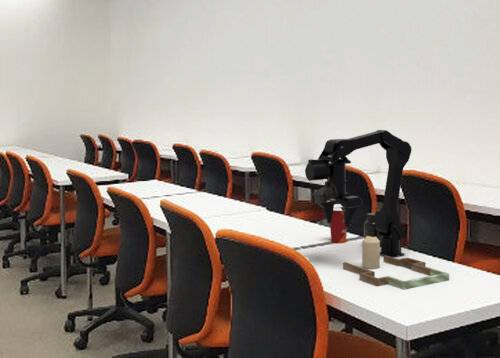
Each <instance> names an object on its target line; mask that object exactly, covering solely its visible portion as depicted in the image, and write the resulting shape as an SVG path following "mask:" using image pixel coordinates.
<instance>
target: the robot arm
mask: <svg viewBox="0 0 500 358" xmlns="http://www.w3.org/2000/svg"><path fill="white" fill-rule="evenodd" d="M377 144H379V145H380V147H381V149H383V150H385V159H386V161H387V164H388V168H387V175H386V182H385V188H384V195H383V201H382V207H381V208H380V209H379V210H376V211H375V212H374V213H375V219H374V223H375V228H376V229H377V230H378V234H379V236H383V237H382V242H381V247H380V255H381V256H385V255H386V256H390V257H393V258H396V257H400V256H401V257H402V256H405V253H404V252H402V240H404V239H405V238H406V235H407V232H406V231H405V229H403V228H402V226H401V225H400V223H401V222H400V221H401V218H400V217H401V216H400V213H399V211H398V205H399V197H400V192H401V186H402V181H403V180H402V178H403V172H404V167H405V166H406V164H407V163H408V162H409V161H410V157H411V154H412V146H411V143H410V142H408V141H406V140H405V141H404V140H402V139H401V138H399V137H398V136H396V135H394V134H392V133H391V132H390V131H389V130H385V129H377V130H376V131H371V132H368V133H365V134H361V135H357V136H353V137H350V138H333V139H329V140H328V139H327V141H325V144H324V147H323V150H322V152H321V153H320V154H319V156H318V159H308V160H307V162H308V163H307V164H306V165H305V170H304V173H305V177H306V179H307V181H309V182H311V181H312V182H313V181H320V180H322V181H323V180H325V182H324V186H322V187H321V188H318V189H317V190H315V191H314V192H313V193H312V195H313V201H314V202H315V204H317V205H318V206H320V207H321V209H322V212H323V214H324V216H325V219H326V221H327V223H328V224H330V223H331V220H332V214H333V209H334V204H335V202H336V203H339V204H341V206H343V207H340V208H341V209H342V210H343V212H344V223H345V227H347V228H349V227H350V224H351V222H352V220H353V217H354V215H355V214H356V212H357V210H358V209H359V208H361V206H363V199H362V198H361V196H357V195H349V192H347V191H346V190H347V189H346V185H349V180H346V165H347V164H351V163H352V161H351V160H350V159H348V157H347V156H349V155H350V154H352V153H353V152H355V151H356V150H359V149H363V148H367V147H370V146H374V145H377ZM326 179H327V180H326Z"/></svg>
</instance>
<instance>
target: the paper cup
mask: <svg viewBox="0 0 500 358" xmlns="http://www.w3.org/2000/svg"><path fill="white" fill-rule="evenodd" d="M340 207H343V206H341V204H340V203H337V204H335V203H334V209H333V214H332V220H331V223H329V227H330V241H331V243H332V244H345V243H346V242H347V233H348V227H345V223H344V212H343V210H342V209H341V208H340Z"/></svg>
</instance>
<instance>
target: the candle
mask: <svg viewBox="0 0 500 358" xmlns="http://www.w3.org/2000/svg"><path fill="white" fill-rule="evenodd" d="M361 243H362V244H361V245H362V247H361V249H362V251H361V252H362V253H361V255H362V257H361V259H362V261H361V263H362V265H361V267H362V268H365V269H368V270H377V269H379V268H380V266H381V265H380V263H381V262H380V261H381V260H380V259H381V257H380V255H381V254H380V252H381V247H380V241H379V240H378V238H377V237H370V236H366V237H365V238H364V237H363V239H362V242H361Z"/></svg>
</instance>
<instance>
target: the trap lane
mask: <svg viewBox="0 0 500 358" xmlns="http://www.w3.org/2000/svg"><path fill="white" fill-rule="evenodd" d="M383 263H387V264H390V265H393V266H396V267H401V268H402V267H403V268H405V269H409V270H411V271H414V272H417V273H420V274H424V275H426V276H422V277H416V278H411V279H406V280H402V279H400V278H399V279H398V278H395V277H392V276H388V275H387V276H381V277H375V275H376V272H375V271H374V270H372V269H367V268H363V267H362V266H358V265H355V264H352V263H349V262H346V261H344V262H342V270H345V271H349V272H351V273H354V274H357V275H359V276H358V277H359V281H362V282H365V283H367V284H371V285H373V286H377V287H380V286H385V285H390V286H392V287H396V288H399V289H400V290H401V289H402V290H406V289H413V288H416V287H417V288H418V287H423V286H427V285H432V284H435V283H441V282H446V281H450V273H449V272H446V271H442V270H438V269H434V268H431V267H428V266H426V263H427V262H426V261H422V260H417V259H414V258H411V257H402V258H397V257H390V256H386V255H383Z"/></svg>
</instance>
